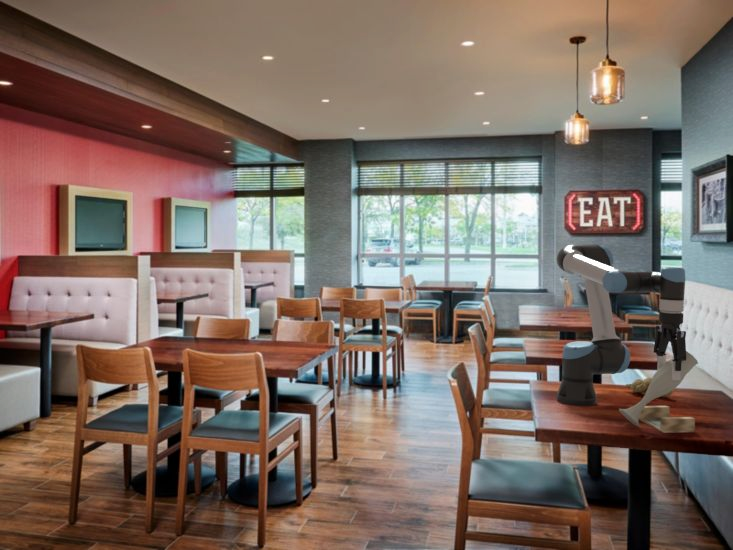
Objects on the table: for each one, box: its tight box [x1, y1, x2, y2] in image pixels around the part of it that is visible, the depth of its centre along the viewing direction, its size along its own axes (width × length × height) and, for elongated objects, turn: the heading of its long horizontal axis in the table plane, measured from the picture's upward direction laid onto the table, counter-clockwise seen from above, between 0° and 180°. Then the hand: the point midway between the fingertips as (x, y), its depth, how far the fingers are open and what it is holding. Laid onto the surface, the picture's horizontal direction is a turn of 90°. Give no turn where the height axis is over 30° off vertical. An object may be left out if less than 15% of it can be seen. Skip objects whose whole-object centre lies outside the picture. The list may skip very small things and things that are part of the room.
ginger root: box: [625, 377, 674, 398], centre depth 255 cm, size 16×16×8 cm
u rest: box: [638, 405, 696, 434], centre depth 212 cm, size 11×16×5 cm
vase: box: [618, 350, 699, 428], centre depth 211 cm, size 9×8×30 cm
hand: (668, 377), depth 211 cm, fingers closed on vase, 8 cm apart
